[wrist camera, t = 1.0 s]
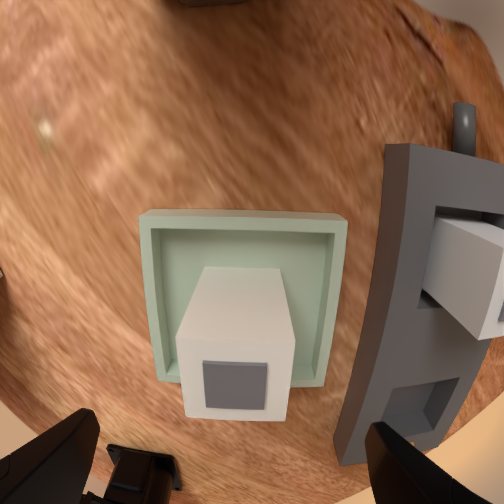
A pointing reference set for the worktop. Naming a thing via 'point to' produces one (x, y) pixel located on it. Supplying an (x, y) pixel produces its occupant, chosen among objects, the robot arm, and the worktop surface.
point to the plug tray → (244, 256)
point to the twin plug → (468, 273)
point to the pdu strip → (417, 297)
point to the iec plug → (236, 346)
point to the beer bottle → (207, 2)
